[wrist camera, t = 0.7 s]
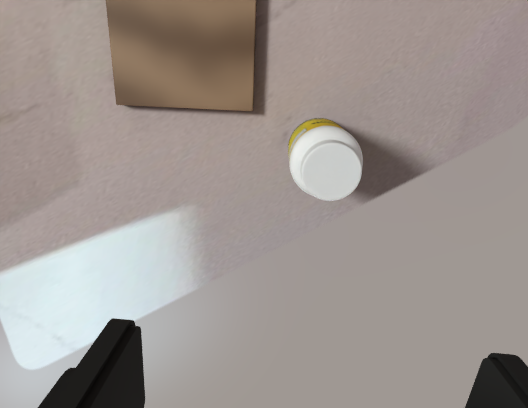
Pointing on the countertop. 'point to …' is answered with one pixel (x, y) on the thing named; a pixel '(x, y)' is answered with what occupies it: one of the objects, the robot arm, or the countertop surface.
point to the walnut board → (183, 53)
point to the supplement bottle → (325, 159)
